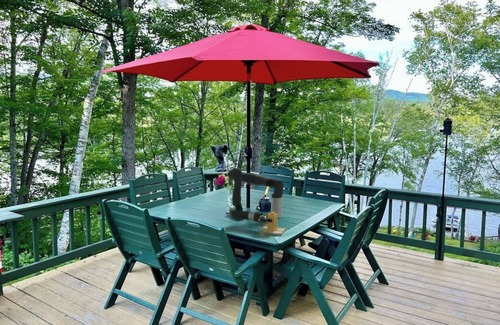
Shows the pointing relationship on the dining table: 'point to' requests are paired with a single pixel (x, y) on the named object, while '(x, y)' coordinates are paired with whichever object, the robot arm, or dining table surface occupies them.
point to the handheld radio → (231, 211)
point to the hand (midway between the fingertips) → (274, 219)
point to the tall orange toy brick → (272, 225)
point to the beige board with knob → (277, 232)
